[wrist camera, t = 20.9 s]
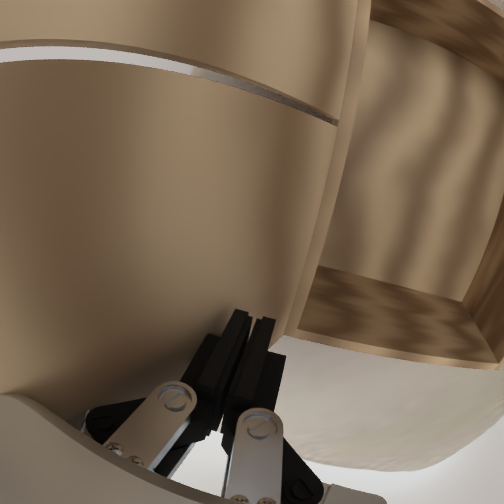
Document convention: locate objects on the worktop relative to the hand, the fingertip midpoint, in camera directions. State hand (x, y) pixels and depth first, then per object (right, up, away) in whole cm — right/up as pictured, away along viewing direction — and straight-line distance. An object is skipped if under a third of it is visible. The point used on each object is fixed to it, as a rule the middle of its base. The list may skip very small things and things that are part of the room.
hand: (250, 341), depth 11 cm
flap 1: (-1, +14, -10) cm, 17 cm away
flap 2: (-3, +1, -4) cm, 5 cm away
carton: (+18, +12, +11) cm, 24 cm away
